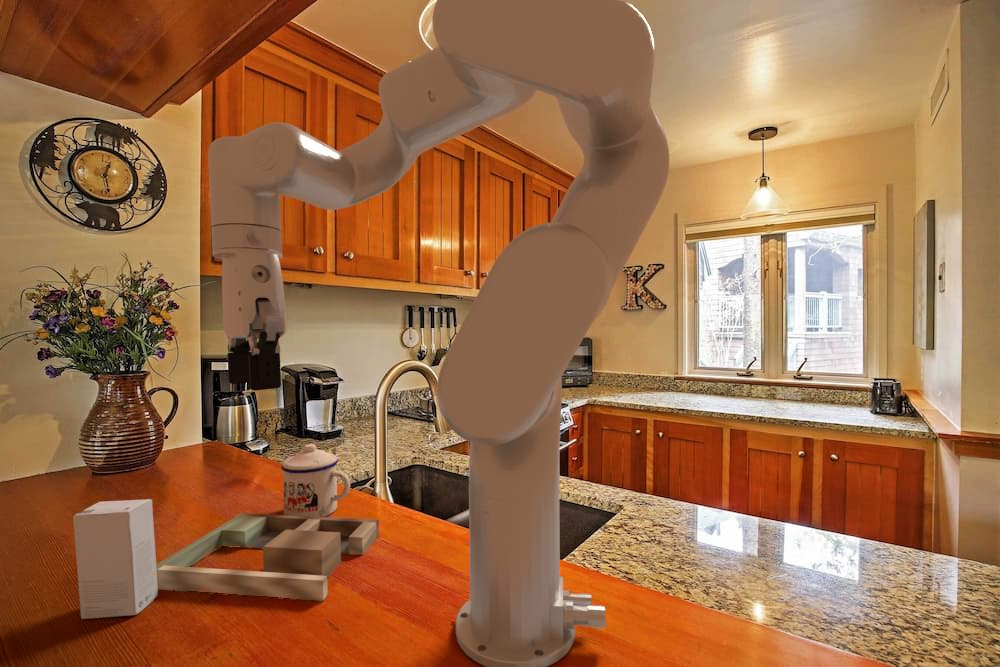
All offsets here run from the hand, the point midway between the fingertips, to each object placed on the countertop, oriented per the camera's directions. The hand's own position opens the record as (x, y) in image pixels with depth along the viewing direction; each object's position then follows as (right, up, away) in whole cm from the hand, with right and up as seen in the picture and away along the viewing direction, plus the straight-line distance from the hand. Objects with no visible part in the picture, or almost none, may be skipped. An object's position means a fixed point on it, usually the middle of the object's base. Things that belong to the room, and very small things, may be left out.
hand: (253, 385), depth 57 cm
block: (+4, -25, +5) cm, 26 cm away
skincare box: (-14, -26, -3) cm, 29 cm away
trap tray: (-1, -25, +7) cm, 26 cm away
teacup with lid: (-1, -25, +24) cm, 35 cm away
